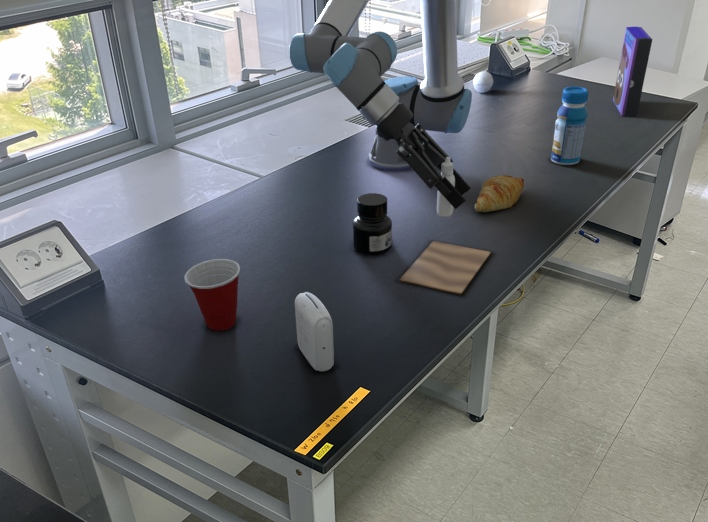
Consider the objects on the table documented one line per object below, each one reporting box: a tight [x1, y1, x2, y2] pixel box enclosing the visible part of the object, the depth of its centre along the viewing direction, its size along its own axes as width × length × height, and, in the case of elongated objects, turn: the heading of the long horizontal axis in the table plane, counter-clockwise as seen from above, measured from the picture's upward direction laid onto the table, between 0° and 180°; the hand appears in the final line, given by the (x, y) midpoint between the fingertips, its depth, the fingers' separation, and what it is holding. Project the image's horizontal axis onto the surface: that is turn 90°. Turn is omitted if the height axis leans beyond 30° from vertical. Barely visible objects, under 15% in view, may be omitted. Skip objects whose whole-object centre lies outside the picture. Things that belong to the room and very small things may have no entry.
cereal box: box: [612, 26, 653, 118], centre depth 238 cm, size 17×5×24 cm, turn 172°
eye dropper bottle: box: [436, 156, 455, 218], centre depth 150 cm, size 4×6×12 cm
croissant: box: [474, 174, 525, 213], centre depth 186 cm, size 21×10×8 cm, turn 139°
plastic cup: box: [183, 258, 241, 332], centre depth 141 cm, size 11×11×12 cm
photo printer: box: [294, 291, 335, 372], centre depth 131 cm, size 10×4×12 cm, turn 24°
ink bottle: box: [352, 192, 393, 256], centre depth 166 cm, size 10×9×12 cm
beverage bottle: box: [550, 86, 590, 166], centre depth 203 cm, size 8×8×20 cm
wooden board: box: [398, 240, 492, 296], centre depth 160 cm, size 20×14×1 cm
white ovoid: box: [472, 70, 494, 94], centre depth 263 cm, size 10×7×7 cm
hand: (463, 198), depth 150 cm, fingers closed on eye dropper bottle, 6 cm apart
